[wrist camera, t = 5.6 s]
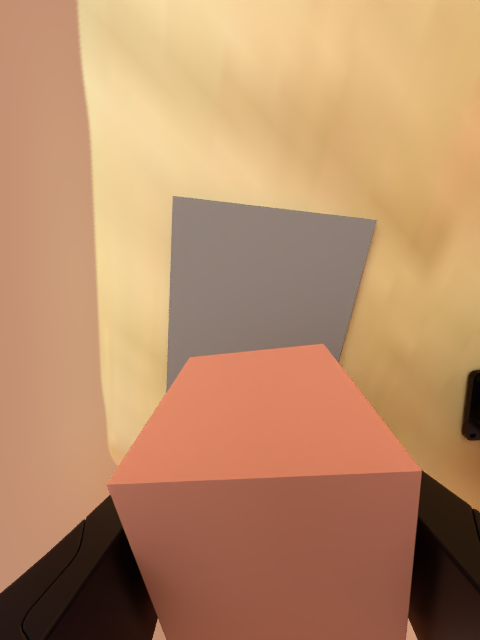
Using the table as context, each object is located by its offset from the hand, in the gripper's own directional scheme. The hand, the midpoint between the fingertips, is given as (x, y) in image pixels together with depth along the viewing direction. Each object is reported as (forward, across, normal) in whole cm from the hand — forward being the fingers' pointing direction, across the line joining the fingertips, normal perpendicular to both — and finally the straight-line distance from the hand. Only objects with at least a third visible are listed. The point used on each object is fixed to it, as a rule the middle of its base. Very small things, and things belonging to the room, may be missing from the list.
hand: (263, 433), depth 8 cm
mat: (+11, +1, +1) cm, 11 cm away
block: (+1, 0, 0) cm, 1 cm away
